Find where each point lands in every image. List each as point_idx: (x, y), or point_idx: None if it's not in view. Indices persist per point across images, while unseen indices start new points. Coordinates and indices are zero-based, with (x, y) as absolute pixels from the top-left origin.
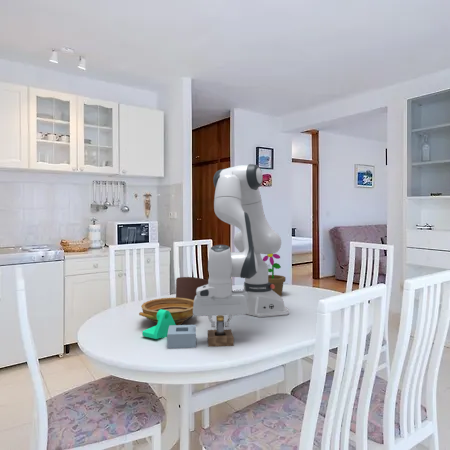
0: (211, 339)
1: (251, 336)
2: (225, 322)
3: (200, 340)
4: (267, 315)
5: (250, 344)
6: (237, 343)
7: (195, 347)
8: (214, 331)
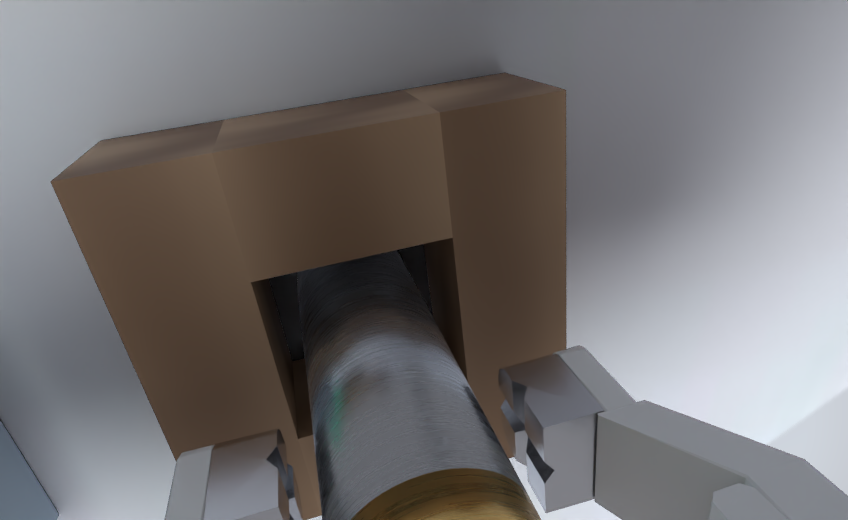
0: None
1: (784, 20)
2: (549, 505)
3: (12, 275)
4: None
5: (696, 301)
6: (568, 297)
7: (53, 515)
8: (243, 252)
